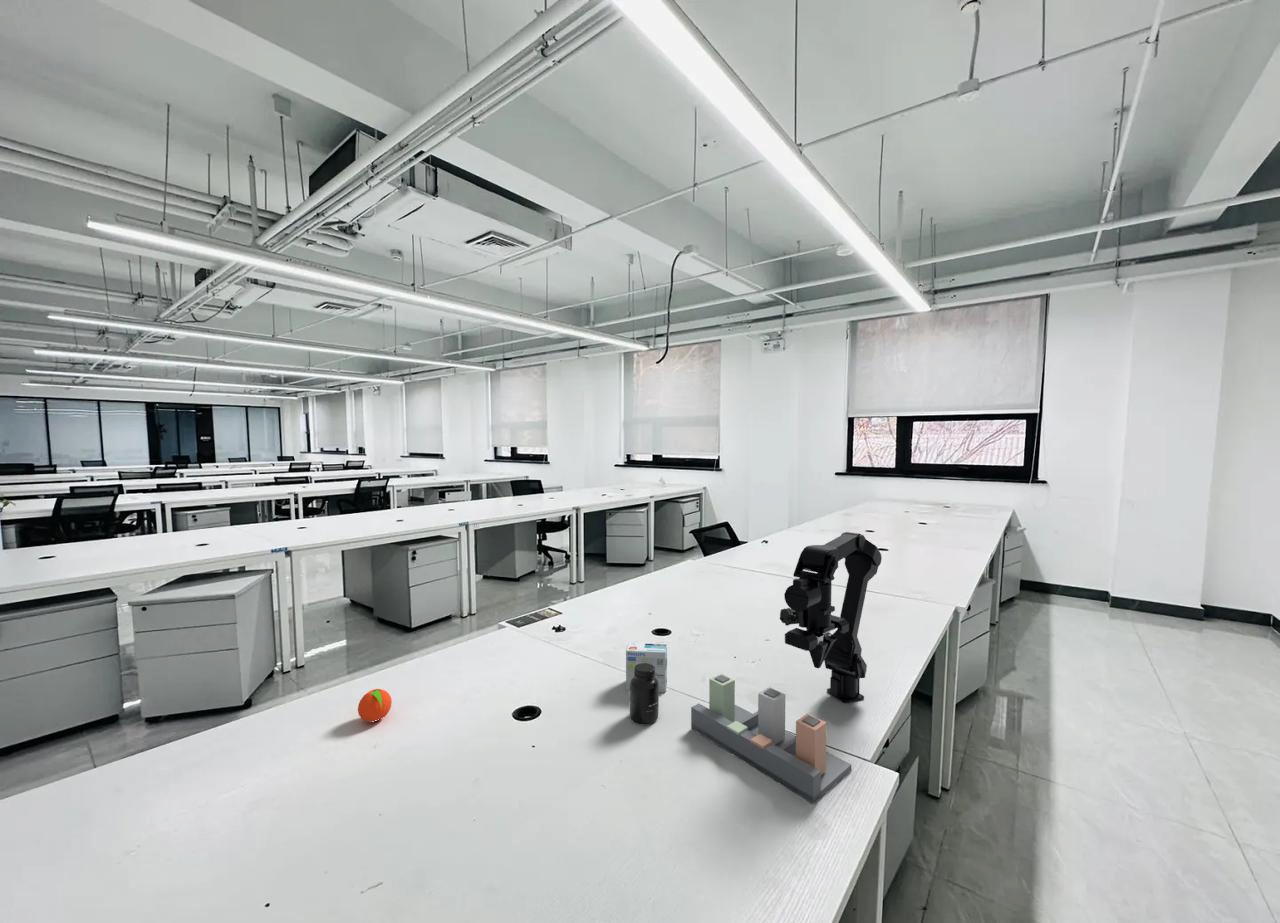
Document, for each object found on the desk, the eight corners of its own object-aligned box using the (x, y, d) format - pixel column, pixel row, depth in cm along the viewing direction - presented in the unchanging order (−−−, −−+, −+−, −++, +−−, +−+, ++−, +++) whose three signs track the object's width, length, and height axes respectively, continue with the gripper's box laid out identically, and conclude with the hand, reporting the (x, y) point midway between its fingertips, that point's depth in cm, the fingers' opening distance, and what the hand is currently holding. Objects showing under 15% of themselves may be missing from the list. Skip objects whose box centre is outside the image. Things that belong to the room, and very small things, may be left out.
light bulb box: (667, 680, 132) (667, 641, 131) (666, 693, 125) (666, 652, 124) (628, 678, 133) (628, 640, 132) (625, 691, 126) (625, 650, 126)
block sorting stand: (731, 707, 118) (731, 685, 118) (851, 770, 95) (851, 743, 95) (690, 729, 109) (690, 705, 109) (812, 804, 86) (812, 774, 86)
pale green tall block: (720, 713, 112) (721, 672, 112) (734, 721, 109) (734, 678, 109) (709, 720, 110) (709, 677, 109) (722, 727, 107) (723, 684, 106)
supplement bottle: (656, 727, 109) (656, 675, 109) (626, 724, 111) (626, 672, 110) (660, 711, 116) (661, 662, 116) (633, 708, 118) (633, 659, 117)
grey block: (769, 729, 106) (769, 685, 106) (785, 738, 103) (785, 693, 103) (758, 736, 103) (758, 691, 103) (773, 745, 100) (774, 699, 100)
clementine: (398, 721, 112) (398, 691, 112) (365, 734, 107) (365, 702, 107) (385, 708, 117) (385, 679, 117) (353, 720, 112) (353, 690, 112)
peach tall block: (806, 760, 96) (807, 712, 95) (825, 771, 92) (826, 720, 92) (795, 769, 93) (796, 719, 93) (814, 780, 90) (815, 728, 90)
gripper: (808, 586, 125) (807, 646, 125) (765, 601, 113) (764, 667, 113) (850, 596, 116) (849, 660, 117) (808, 613, 104) (807, 685, 105)
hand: (817, 667), depth 113 cm, fingers closed
